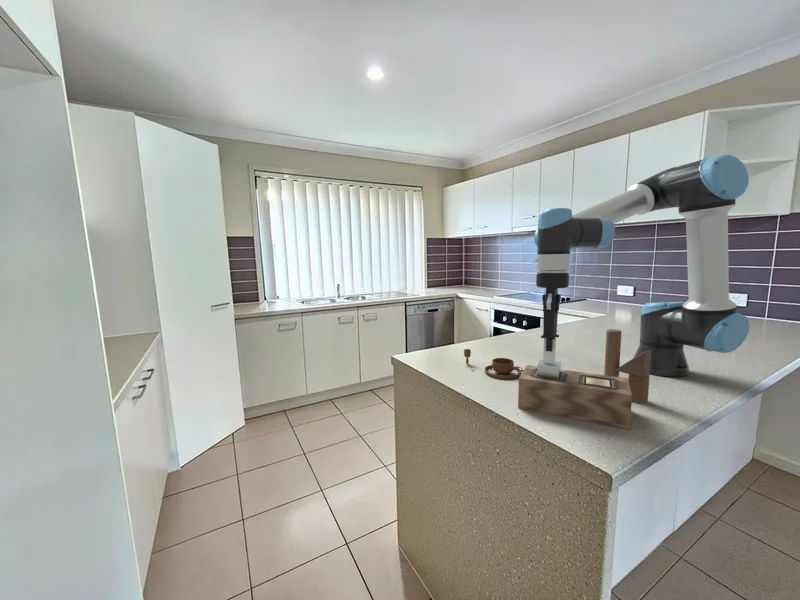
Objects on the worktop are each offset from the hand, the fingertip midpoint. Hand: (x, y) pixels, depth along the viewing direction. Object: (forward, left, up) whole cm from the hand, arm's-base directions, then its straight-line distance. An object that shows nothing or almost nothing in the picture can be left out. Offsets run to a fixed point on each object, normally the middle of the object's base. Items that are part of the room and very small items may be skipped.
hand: (549, 362), depth 87 cm
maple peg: (-11, 0, -12) cm, 16 cm away
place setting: (+19, -22, -12) cm, 31 cm away
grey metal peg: (0, 0, -8) cm, 8 cm away
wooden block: (-18, -15, -12) cm, 26 cm away
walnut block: (-6, 0, -11) cm, 13 cm away
